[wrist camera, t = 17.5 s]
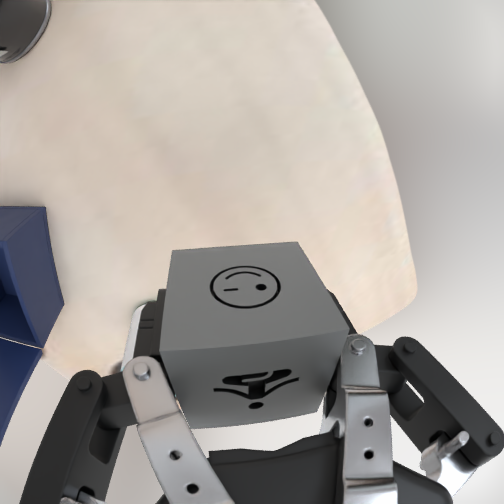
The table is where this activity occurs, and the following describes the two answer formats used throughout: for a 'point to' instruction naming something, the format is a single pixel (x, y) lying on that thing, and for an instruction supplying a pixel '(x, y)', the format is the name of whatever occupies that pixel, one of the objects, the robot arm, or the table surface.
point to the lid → (14, 377)
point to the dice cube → (248, 334)
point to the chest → (27, 276)
